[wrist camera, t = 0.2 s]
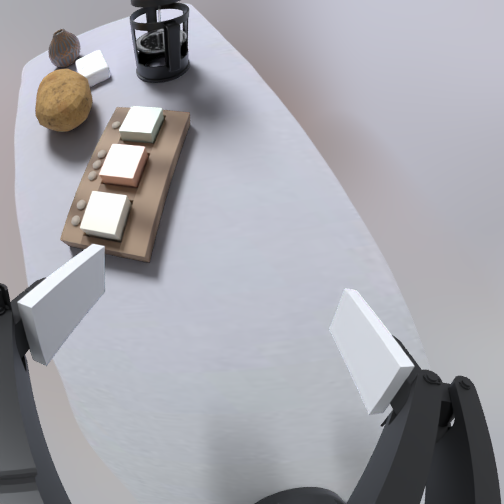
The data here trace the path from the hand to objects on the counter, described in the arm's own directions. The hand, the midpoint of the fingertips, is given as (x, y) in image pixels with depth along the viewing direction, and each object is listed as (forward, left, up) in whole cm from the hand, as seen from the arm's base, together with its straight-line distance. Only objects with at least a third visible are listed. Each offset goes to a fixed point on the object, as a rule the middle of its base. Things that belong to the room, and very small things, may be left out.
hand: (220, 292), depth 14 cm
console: (+14, +13, -16) cm, 25 cm away
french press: (+37, +16, -16) cm, 44 cm away
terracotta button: (+14, +13, -15) cm, 24 cm away
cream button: (+7, +13, -15) cm, 21 cm away
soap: (+36, +31, -16) cm, 50 cm away
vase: (+41, +40, -16) cm, 60 cm away
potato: (+24, +28, -16) cm, 41 cm away
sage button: (+20, +13, -15) cm, 29 cm away
